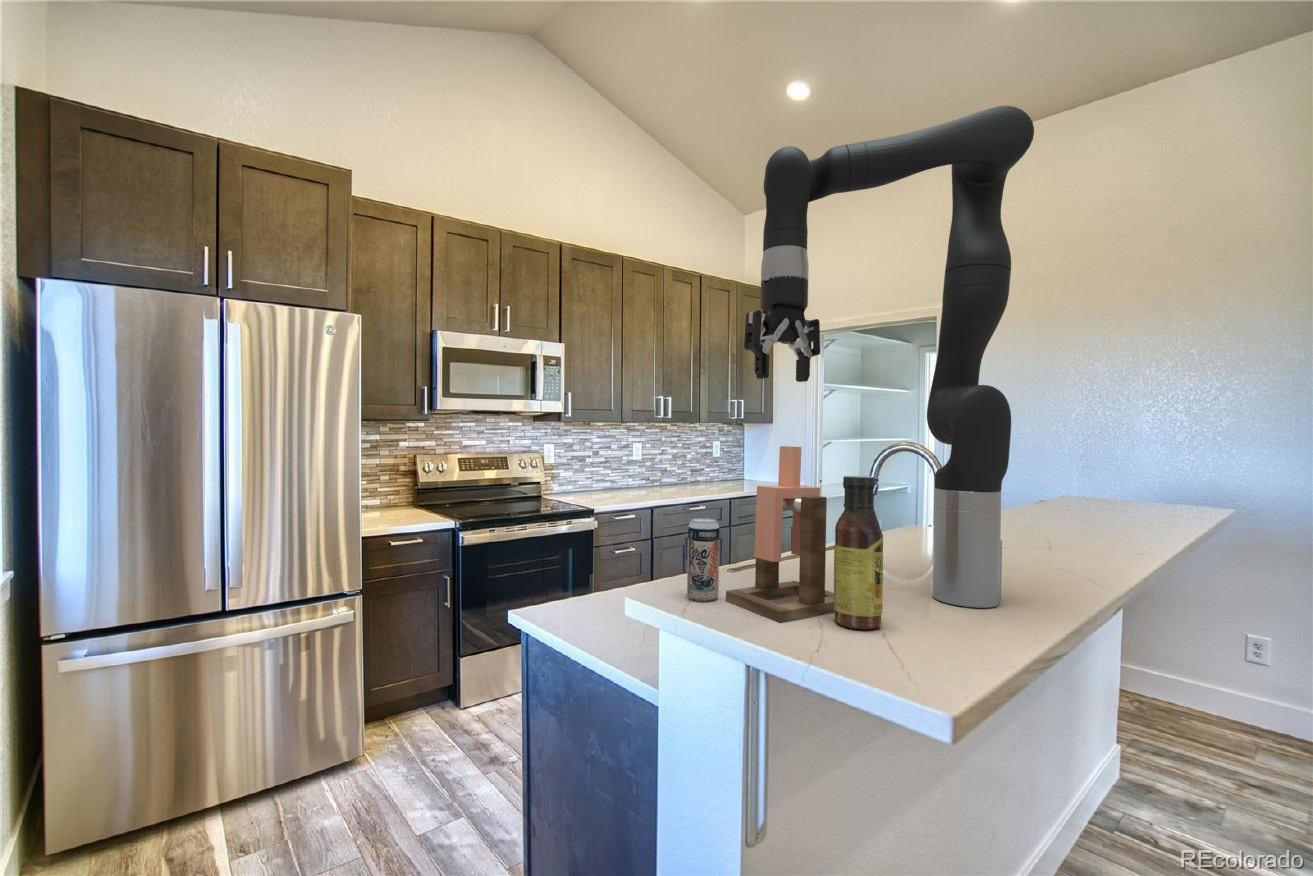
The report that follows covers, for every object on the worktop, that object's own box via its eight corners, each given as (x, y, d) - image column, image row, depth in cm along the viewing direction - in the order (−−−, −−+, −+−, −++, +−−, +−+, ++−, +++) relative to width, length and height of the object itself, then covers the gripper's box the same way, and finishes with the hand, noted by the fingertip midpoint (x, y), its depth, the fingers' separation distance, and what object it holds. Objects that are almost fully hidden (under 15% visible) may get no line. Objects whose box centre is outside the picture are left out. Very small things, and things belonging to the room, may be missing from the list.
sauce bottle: (886, 633, 77) (889, 478, 77) (835, 629, 78) (838, 477, 78) (877, 618, 83) (880, 475, 83) (831, 615, 85) (833, 473, 84)
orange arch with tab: (798, 553, 93) (802, 447, 94) (817, 557, 90) (822, 447, 90) (754, 556, 89) (758, 445, 89) (772, 562, 85) (777, 445, 85)
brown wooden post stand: (794, 589, 98) (796, 488, 98) (852, 608, 88) (854, 495, 88) (725, 600, 91) (727, 491, 91) (780, 622, 80) (782, 499, 80)
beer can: (685, 601, 90) (686, 521, 90) (688, 593, 95) (690, 517, 95) (717, 603, 89) (718, 522, 89) (719, 595, 94) (720, 518, 94)
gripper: (800, 290, 104) (798, 384, 104) (735, 278, 97) (733, 379, 97) (833, 281, 98) (831, 381, 98) (766, 267, 90) (764, 375, 90)
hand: (782, 380), depth 97 cm, fingers open, 8 cm apart
